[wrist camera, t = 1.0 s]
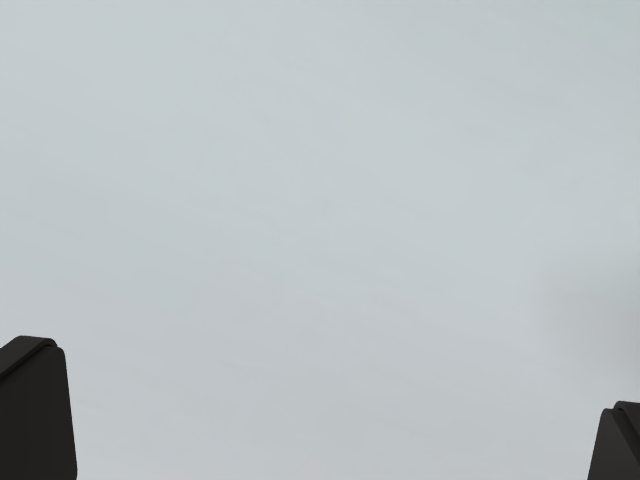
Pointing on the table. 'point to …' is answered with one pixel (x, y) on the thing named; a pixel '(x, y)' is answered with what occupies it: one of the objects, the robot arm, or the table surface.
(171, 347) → the table surface
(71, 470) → the robot arm
